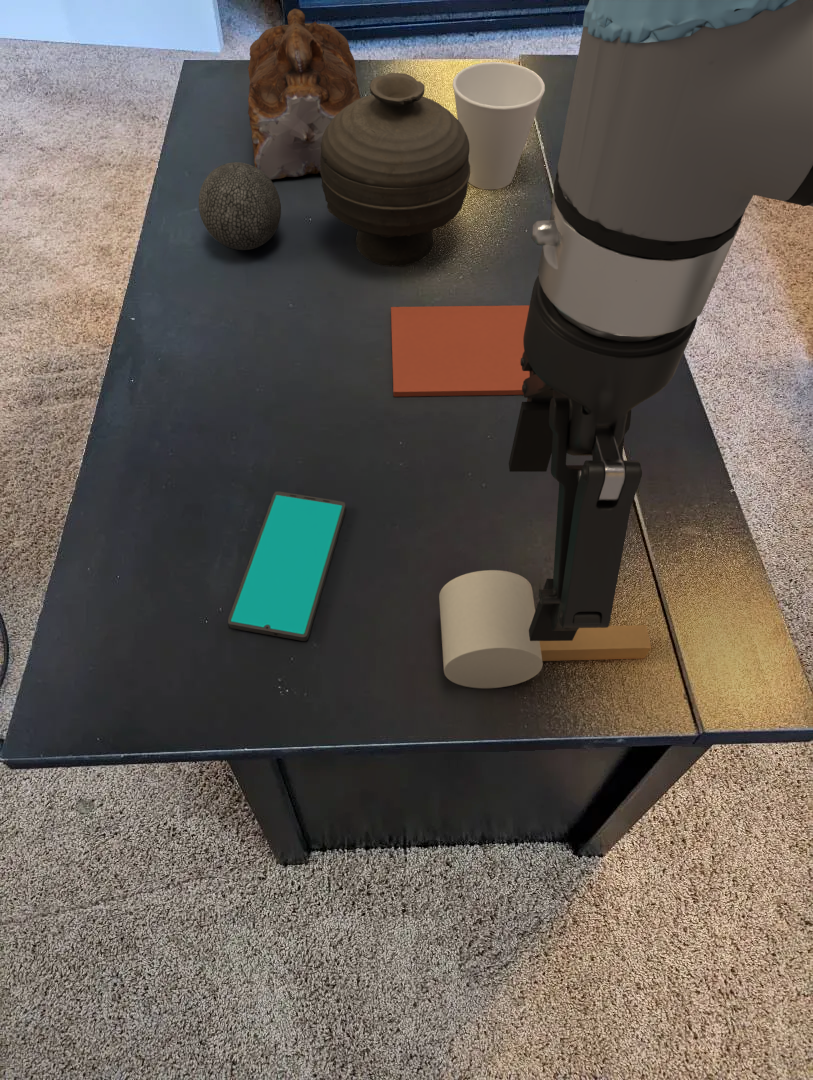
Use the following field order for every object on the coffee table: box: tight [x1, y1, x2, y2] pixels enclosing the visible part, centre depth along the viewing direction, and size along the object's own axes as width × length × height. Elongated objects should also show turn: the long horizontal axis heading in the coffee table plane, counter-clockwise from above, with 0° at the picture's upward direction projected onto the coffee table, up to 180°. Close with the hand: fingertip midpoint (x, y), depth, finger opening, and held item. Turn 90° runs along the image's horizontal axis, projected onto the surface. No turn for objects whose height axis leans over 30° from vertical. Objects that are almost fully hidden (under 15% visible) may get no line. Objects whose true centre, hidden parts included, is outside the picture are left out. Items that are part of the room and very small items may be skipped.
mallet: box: [438, 569, 652, 689], centre depth 64 cm, size 18×7×8 cm, turn 92°
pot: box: [319, 72, 470, 267], centre depth 91 cm, size 18×18×20 cm
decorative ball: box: [198, 161, 282, 251], centre depth 94 cm, size 10×10×10 cm
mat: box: [390, 304, 530, 398], centre depth 87 cm, size 22×14×1 cm, turn 92°
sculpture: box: [247, 8, 362, 181], centre depth 107 cm, size 19×18×20 cm
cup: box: [452, 61, 546, 191], centre depth 102 cm, size 12×12×12 cm
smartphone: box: [227, 490, 347, 642], centre depth 71 cm, size 7×1×15 cm
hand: (537, 545), depth 52 cm, fingers open, 13 cm apart
